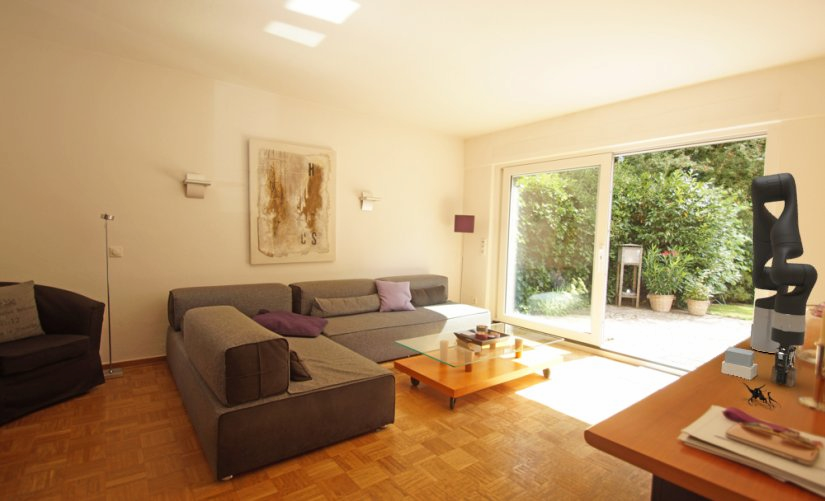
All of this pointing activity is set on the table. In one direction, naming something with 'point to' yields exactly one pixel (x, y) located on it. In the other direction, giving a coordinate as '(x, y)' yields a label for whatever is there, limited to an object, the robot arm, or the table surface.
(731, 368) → the base block
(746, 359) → the grey rectangular block
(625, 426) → the table surface
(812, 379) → the table surface
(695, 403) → the table surface
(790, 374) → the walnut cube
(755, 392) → the creature
